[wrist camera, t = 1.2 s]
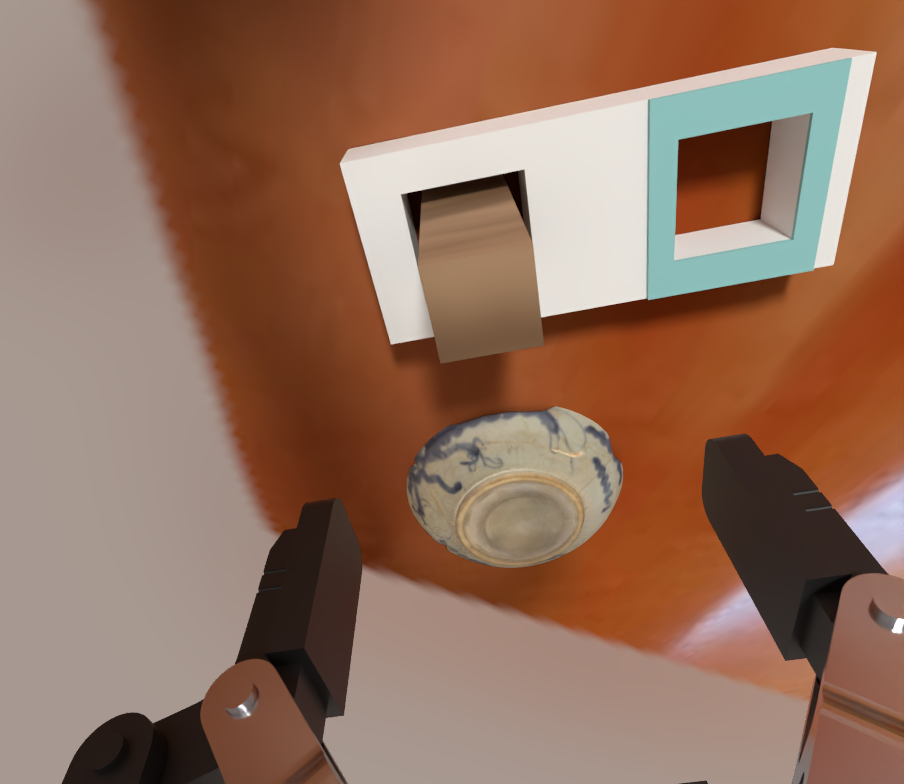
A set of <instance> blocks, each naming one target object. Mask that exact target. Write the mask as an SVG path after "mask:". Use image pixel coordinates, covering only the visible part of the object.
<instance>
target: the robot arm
mask: <svg viewBox="0 0 904 784" xmlns="http://www.w3.org/2000/svg"><path fill="white" fill-rule="evenodd" d="M702 499H703V504H704V508H705V512H706V514H707V517H708V519H709V521H710V523H711V525H712V527H713V529H714V530H715V532H716V534H717V536H718V538H719V540H720V541H721V543H722V545H723V547H724V549H725V551H726V552H727V554H728V556H729V558H730V560H731V562H732V563H733V565H734V567H735V569H736V571H737V573H738V574H739V576H740V578H741V580H742V582H743V584H744V585H745V587H746V589H747V591H748V593H749V595H750V597H751V598H752V600H753V602H754V604H755V606H756V608H757V609H758V611H759V613H760V615H761V617H762V619H763V620H764V622H765V624H766V626H767V628H768V630H769V631H770V633H771V635H772V637H773V639H774V641H775V642H776V644H777V646H778V648H779V650H780V652H781V653H782V655H783V657H784V659H785V661H787V660H795V659H803V658H807V659H808V661H809V663H810V665H811V666H812V668H813V670H814V671H815V673H816V675H815V678H814V682H813V686H812V691H811V696H810V701H809V705H808V710H807V715H806V720H805V725H804V729H803V734H802V739H801V743H800V749H799V753H798V758H797V763H796V767H795V772H794V776H793V780H792V784H904V579H901V578H898V577H895V576H891V575H889V574H888V573H887V572H886V571H885V570H884V569H883V568H882V567H881V565H880V564H879V563H878V562H877V560H876V559H875V558H874V557H873V556H872V554H871V553H870V552H869V551H868V549H867V548H866V547H865V546H864V544H863V543H862V542H861V541H860V539H859V538H858V537H857V536H856V535H855V533H854V532H853V531H852V530H851V528H850V527H849V526H848V525H847V523H846V522H845V521H844V520H843V518H842V517H841V516H840V515H839V514H838V512H837V511H836V510H835V509H832V507H831V504H830V502H829V501H828V500H827V499H826V497H825V496H824V495H823V494H822V493H819V491H818V488H817V486H816V485H815V484H814V483H813V481H812V480H811V479H810V478H809V477H808V475H807V474H806V473H805V472H804V470H803V469H802V468H800V467H798V466H797V465H795V464H794V463H792V462H791V461H789V460H787V459H786V458H784V457H783V456H781V455H779V454H774V455H767V456H764V454H763V453H762V452H761V450H760V449H759V448H758V446H757V445H756V444H755V442H754V441H753V440H752V438H751V437H750V436H749V435H747V434H739V435H733V436H727V437H721V438H715V439H709V440H708V441H707V442H706V446H705V457H704V470H703V482H702ZM361 575H362V554H361V549H360V545H359V542H358V539H357V537H356V534H355V532H354V530H353V527H352V525H351V522H350V520H349V518H348V515H347V513H346V510H345V508H344V506H343V503H342V502H341V500H340V499H339V498H334V499H328V500H322V501H316V502H310V503H305V504H304V506H303V508H302V511H301V515H300V518H299V522H298V526H297V528H296V529H289V530H284V532H283V533H282V534H281V536H280V537H279V538H278V540H277V541H276V543H275V544H274V545H273V547H272V548H271V550H270V552H269V555H268V558H267V562H266V565H265V568H264V575H263V576H262V578H261V581H260V585H259V588H258V589H259V593H257V594H256V598H255V602H254V604H253V608H252V611H251V615H250V618H249V621H248V624H247V628H246V631H245V634H244V637H243V641H242V644H241V647H240V651H239V654H238V658H237V660H236V662H235V665H233V666H232V667H230V668H228V669H227V670H226V671H225V672H224V673H222V674H221V675H220V676H219V677H218V678H217V679H216V680H215V681H214V683H213V684H212V685H211V686H210V688H209V690H208V691H207V693H206V695H205V698H204V699H203V700H201V701H200V702H198V703H196V704H194V705H192V706H190V707H188V708H186V709H183V710H181V711H179V712H177V713H175V714H173V715H170V716H168V717H166V718H164V719H162V720H160V721H158V722H155V723H152V722H151V721H150V720H149V719H148V718H147V717H146V716H144V715H142V714H139V713H126V714H122V715H119V716H116V717H114V718H112V719H110V720H109V721H107V722H105V723H104V724H102V725H101V726H100V727H98V728H97V729H96V730H95V731H94V732H93V733H92V734H91V735H90V736H89V737H88V738H87V739H86V740H85V741H84V743H83V744H82V745H81V746H80V748H79V749H78V751H77V752H76V754H75V755H74V757H73V760H72V761H71V763H70V766H69V768H68V770H67V773H66V775H65V777H64V780H63V782H62V784H348V783H347V781H346V779H345V777H344V776H343V774H342V772H341V771H340V769H339V767H338V766H337V764H336V762H335V760H334V759H333V757H332V755H331V754H330V752H329V750H328V748H327V747H326V745H325V743H324V742H323V740H322V739H323V733H324V726H325V719H326V718H328V717H335V716H343V715H344V710H345V701H346V693H347V686H348V678H349V670H350V662H351V654H352V646H353V638H354V631H355V623H356V614H357V606H358V598H359V591H360V583H361ZM681 784H708V783H707V781H699V782H690V783H681Z"/></svg>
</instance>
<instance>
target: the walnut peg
mask: <svg viewBox="0 0 904 784" xmlns="http://www.w3.org/2000/svg"><path fill="white" fill-rule="evenodd" d="M418 269H419V273H420V278H421V282H422V286H423V290H424V295H425V299H426V303H427V308H428V312H429V316H430V320H431V325H432V329H433V333H434V338H435V342H436V346H437V351H438V355H439V359H440V363H447V362H453V361H458V360H464V359H470V358H475V357H481V356H487V355H492V354H498V353H504V352H509V351H515V350H521V349H526V348H532V347H538V346H543V345H544V339H543V330H542V321H541V312H540V303H539V294H538V285H537V276H536V266H535V257H534V248H533V243H532V241H531V238H530V236H529V234H528V231H527V229H526V227H525V225H524V222H523V220H522V218H521V215H520V213H519V211H518V208H517V206H516V204H515V201H514V199H513V197H512V195H511V192H510V190H509V188H508V185H507V183H506V181H505V178H504V176H503V174H499V175H494V176H489V177H484V178H479V179H475V180H470V181H465V182H460V183H455V184H450V185H445V186H440V187H435V188H430V189H425V190H422V199H421V217H420V236H419V255H418Z"/></svg>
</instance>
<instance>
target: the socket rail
mask: <svg viewBox="0 0 904 784" xmlns="http://www.w3.org/2000/svg"><path fill="white" fill-rule="evenodd" d="M876 53H877V52H871V51H861V50H850V49H840V48H829V49H824V50H819V51H815V52H810V53H805V54H800V55H796V56H791V57H786V58H781V59H776V60H772V61H767V62H762V63H757V64H753V65H748V66H743V67H738V68H733V69H729V70H724V71H719V72H714V73H710V74H705V75H700V76H695V77H690V78H686V79H681V80H676V81H671V82H667V83H662V84H657V85H652V86H647V87H643V88H638V89H633V90H628V91H624V92H619V93H614V94H609V95H605V96H600V97H595V98H590V99H585V100H581V101H576V102H571V103H566V104H562V105H557V106H552V107H547V108H542V109H538V110H533V111H528V112H523V113H519V114H514V115H509V116H504V117H499V118H495V119H490V120H485V121H480V122H476V123H471V124H466V125H461V126H456V127H452V128H447V129H442V130H437V131H433V132H428V133H423V134H418V135H413V136H409V137H404V138H399V139H394V140H390V141H385V142H380V143H375V144H371V145H366V146H361V147H356V148H351V149H348V150H347V152H346V154H345V155H344V157H343V159H342V160H341V162H340V166H341V170H342V174H343V177H344V181H345V184H346V188H347V191H348V195H349V198H350V202H351V205H352V209H353V212H354V216H355V219H356V223H357V226H358V230H359V233H360V237H361V240H362V244H363V247H364V251H365V255H366V258H367V262H368V265H369V269H370V272H371V276H372V279H373V283H374V286H375V290H376V293H377V297H378V300H379V304H380V307H381V311H382V314H383V318H384V321H385V325H386V328H387V332H388V335H389V339H390V343H391V344H396V343H402V342H408V341H413V340H419V339H424V338H430V337H434V333H433V329H432V325H431V320H430V316H429V312H428V308H427V303H426V299H425V295H424V290H423V286H422V282H421V278H420V273H419V269H418V255H419V244H418V239H417V235H416V231H415V226H414V222H413V217H412V213H411V209H410V204H409V200H408V195H407V193H410V192H415V191H420V190H425V189H430V188H435V187H440V186H445V185H450V184H455V183H460V182H465V181H470V180H475V179H479V178H484V177H489V176H494V175H499V174H504V173H509V172H514V171H518V176H519V185H520V193H521V202H522V211H523V219H524V225H525V227H526V229H527V231H528V234H529V236H530V238H531V241H532V243H533V248H534V257H535V266H536V276H537V285H538V294H539V303H540V312H541V317H546V316H552V315H557V314H563V313H569V312H574V311H580V310H585V309H591V308H596V307H602V306H607V305H613V304H619V303H624V302H630V301H635V300H641V299H646V298H647V299H648V300H651V299H657V298H663V297H668V296H674V295H679V294H685V293H690V292H696V291H702V290H707V289H713V288H718V287H724V286H729V285H735V284H740V283H746V282H752V281H757V280H763V279H768V278H774V277H779V276H785V275H790V274H796V273H802V272H807V271H813V270H814V268H818V267H824V266H829V265H834V260H835V255H836V250H837V245H838V240H839V236H840V231H841V226H842V221H843V216H844V211H845V206H846V201H847V196H848V191H849V186H850V181H851V176H852V171H853V166H854V161H855V157H856V152H857V147H858V142H859V137H860V132H861V127H862V122H863V117H864V112H865V107H866V102H867V97H868V92H869V87H870V82H871V78H872V73H873V68H874V63H875V58H876ZM769 121H772V127H771V135H770V144H769V152H768V160H767V169H766V177H765V185H764V194H763V202H762V210H761V219H759V220H754V221H749V222H743V223H738V224H733V225H727V226H722V227H717V228H711V229H706V230H701V231H695V232H690V233H685V234H679V235H675V221H676V193H677V165H678V140H679V139H684V138H689V137H694V136H699V135H704V134H709V133H714V132H719V131H724V130H729V129H734V128H739V127H744V126H749V125H754V124H759V123H764V122H769Z"/></svg>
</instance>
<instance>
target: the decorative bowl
mask: <svg viewBox="0 0 904 784" xmlns="http://www.w3.org/2000/svg"><path fill="white" fill-rule="evenodd" d="M414 460H415V463H414V464H413V465H412V466H411V468H410V470H409V473H408V478H407V497H408V502H409V505H410V508H411V510H412V512H413V515H414V516H415V517H416V519H417V521H418V522H419V524H420V525H421V526H422V527H423V528H424V530H425V531H426V532H427V533H428V534H429V535H430V536H431V537H432V538H433V539H434V540H435V541H437V542H438V543H440V544H443V545H446V546H447V550H448V551H450V552H452V553H454V554H456V555H458V556H460V557H462V558H465V559H468V560H470V561H473V562H476V563H480V564H484V565H488V566H494V567H504V568H518V567H526V566H532V565H537V564H541V563H545V562H548V561H551V560H554V559H555V558H558V557H561V556H563V555H565V554H567V553H568V552H570V551H572V550H574V549H575V548H577V547H579V546H580V545H582V544H583V543H584V542H585V541H587V540H588V539H589V538H590V537H591V536H592V535H593V534H594V533H595V532H596V531H597V530H598V529H599V528H600V527H601V526H602V525H603V523H604V522H605V521H606V519H607V517H608V516H609V514H610V513H611V511H612V509H613V507H614V505H615V503H616V501H617V498H618V496H619V493H620V490H621V486H622V480H623V467H622V463H621V462H620V461H619V460H618V459H617V458H616V457H614V455H613V453H612V449H611V444H610V441H609V435H608V434H607V433H606V431H605V430H603V429H602V428H601V427H600V426H599V425H598V424H596V423H595V422H594V421H592V420H590V419H589V418H587V417H585V416H583V415H581V414H578V413H576V412H573V411H570V410H567V409H564V408H560V407H557V406H554V407H551V408H549V409H547V410H544V411H531V412H524V411H520V412H503V413H498V414H492V415H486V416H482V417H479V418H476V419H472V420H469V421H466V422H463V423H459V424H455V425H449V426H447V427H446V428H444V429H443V430H441V431H440V432H439V433H437V434H436V435H435V436H433V437H432V438H431V439H430V440H429V441H428V442H427V443H426V444H425V445H424V446H423V448H422V449H421V450H420V452H419V453H418V454H417V456H416V457H415V459H414Z"/></svg>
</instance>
